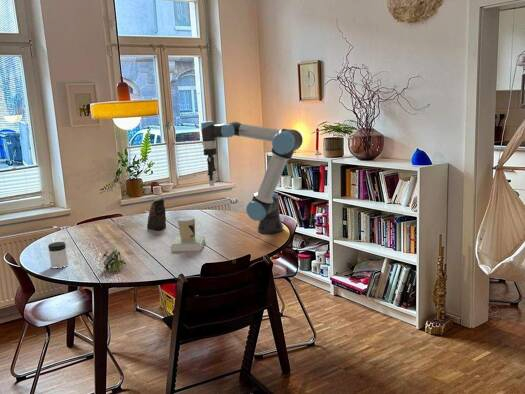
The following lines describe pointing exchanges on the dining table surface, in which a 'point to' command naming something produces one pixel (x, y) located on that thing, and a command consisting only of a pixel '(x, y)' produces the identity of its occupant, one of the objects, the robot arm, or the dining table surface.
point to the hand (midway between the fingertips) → (212, 184)
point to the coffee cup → (187, 228)
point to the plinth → (188, 244)
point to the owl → (157, 215)
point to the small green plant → (110, 258)
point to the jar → (58, 254)
